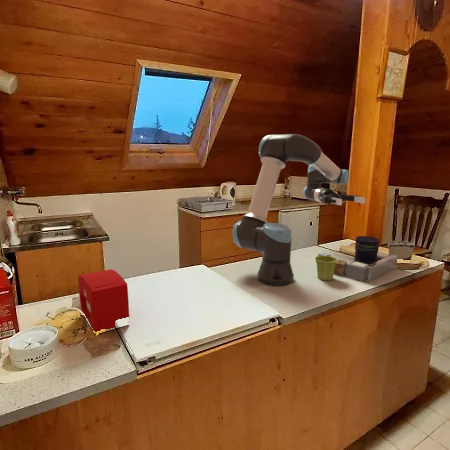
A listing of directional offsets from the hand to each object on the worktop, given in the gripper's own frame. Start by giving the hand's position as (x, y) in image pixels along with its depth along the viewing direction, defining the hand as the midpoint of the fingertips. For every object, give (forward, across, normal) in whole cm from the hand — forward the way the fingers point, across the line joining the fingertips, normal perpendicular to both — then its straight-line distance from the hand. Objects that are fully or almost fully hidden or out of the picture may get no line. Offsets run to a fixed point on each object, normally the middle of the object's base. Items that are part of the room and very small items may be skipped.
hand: (353, 201), depth 160 cm
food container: (+7, -24, -30) cm, 39 cm away
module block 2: (+10, -11, -30) cm, 33 cm away
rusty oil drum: (+11, 0, -30) cm, 32 cm away
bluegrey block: (0, +14, -30) cm, 33 cm away
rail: (+18, -3, -30) cm, 35 cm away
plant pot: (+12, +23, -30) cm, 40 cm away
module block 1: (+17, +9, -30) cm, 35 cm away
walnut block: (+9, +13, -30) cm, 34 cm away
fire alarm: (+18, +112, -30) cm, 118 cm away
